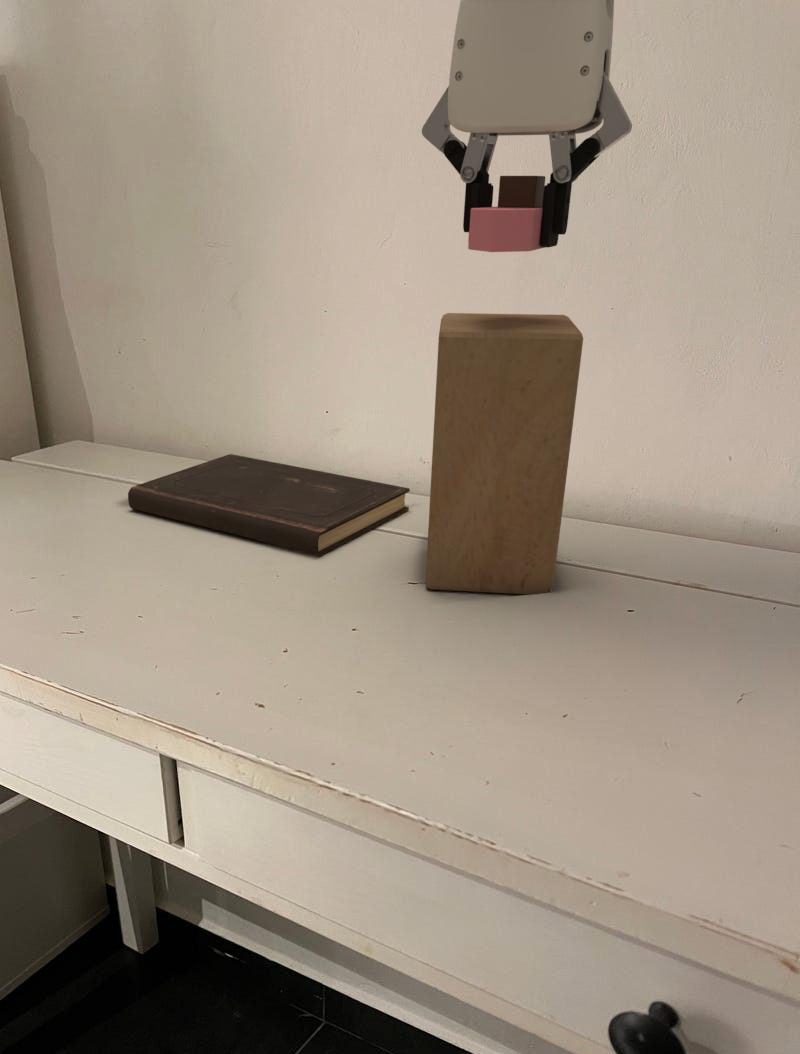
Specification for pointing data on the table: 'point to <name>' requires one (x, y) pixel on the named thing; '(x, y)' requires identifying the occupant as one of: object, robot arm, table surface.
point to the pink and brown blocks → (510, 217)
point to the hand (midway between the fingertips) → (513, 242)
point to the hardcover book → (272, 502)
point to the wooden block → (500, 450)
